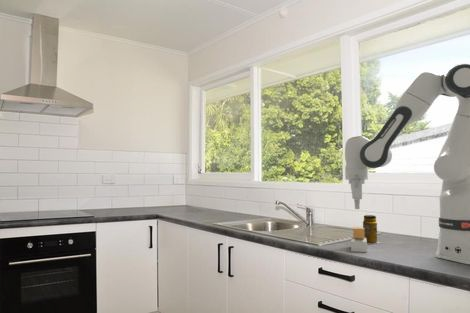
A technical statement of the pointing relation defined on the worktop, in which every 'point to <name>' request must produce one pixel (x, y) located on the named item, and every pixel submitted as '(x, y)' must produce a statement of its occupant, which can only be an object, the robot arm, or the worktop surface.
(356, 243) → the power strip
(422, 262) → the worktop surface
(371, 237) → the condiment
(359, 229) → the orange wooden cube
